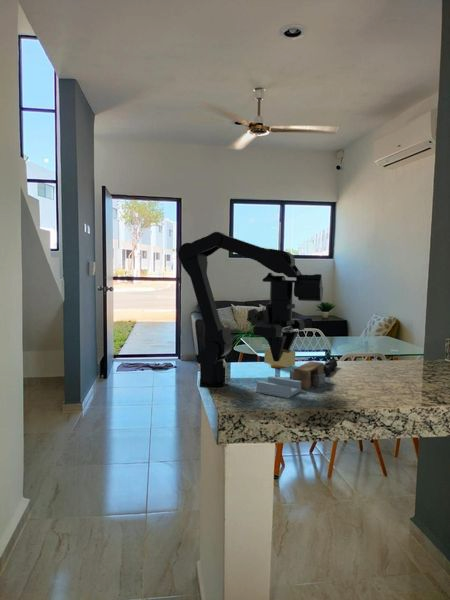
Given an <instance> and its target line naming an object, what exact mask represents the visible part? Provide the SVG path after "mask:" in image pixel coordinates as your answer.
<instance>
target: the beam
mask: <svg viewBox="0 0 450 600" xmlns="http://www.w3.org/2000/svg"><path fill="white" fill-rule="evenodd" d="M324 364H325V363H324V362H319V361H311V360H310V361H308V362H305V363H303V364H301V365H298V366H297V367H295V368H294V369H293V370H294V380H298V381H301V390H307V391H308V390H309V389H311V387H310V385H311V372H316V373H322V374H323V368H324Z"/></svg>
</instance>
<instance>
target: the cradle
mask: <svg viewBox="0 0 450 600" xmlns="http://www.w3.org/2000/svg"><path fill="white" fill-rule="evenodd" d="M301 391H302V389H301V381H298V380H291V379H290V378H285V377H284V378H283V377H278V376H271V375H269V376H267V381H262V380H258V381H257V382H256V391H255V392H256V393H259V394H266V395H269V396H275V397H279V398H286V399H289V398H291V397H292V396H294V394H295V395H296V394H298V393H300V392H301Z"/></svg>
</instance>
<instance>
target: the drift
mask: <svg viewBox="0 0 450 600" xmlns="http://www.w3.org/2000/svg"><path fill="white" fill-rule="evenodd" d="M289 379H291V380H294V369H292V370H289ZM325 386H326V377H325V374H322V373H316V372H311V385H310V388H312V387H313V389H317V388H318V389H317V390H320V389H321V388H324V387H325ZM319 388H320V389H319Z"/></svg>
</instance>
